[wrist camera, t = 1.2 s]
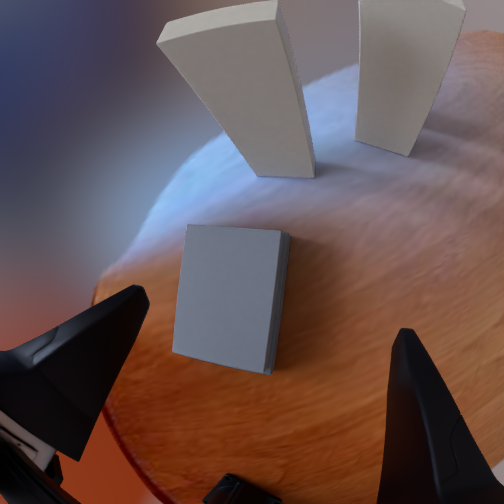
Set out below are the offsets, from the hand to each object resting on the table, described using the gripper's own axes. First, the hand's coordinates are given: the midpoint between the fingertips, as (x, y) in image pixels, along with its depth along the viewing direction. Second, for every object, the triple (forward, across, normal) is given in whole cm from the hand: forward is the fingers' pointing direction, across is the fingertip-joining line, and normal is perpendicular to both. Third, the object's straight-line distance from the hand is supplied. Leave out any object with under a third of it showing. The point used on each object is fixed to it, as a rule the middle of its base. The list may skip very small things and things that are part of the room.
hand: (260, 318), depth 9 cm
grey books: (+10, +5, +9) cm, 14 cm away
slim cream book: (+17, +2, +1) cm, 17 cm away
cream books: (+20, -6, -3) cm, 22 cm away
